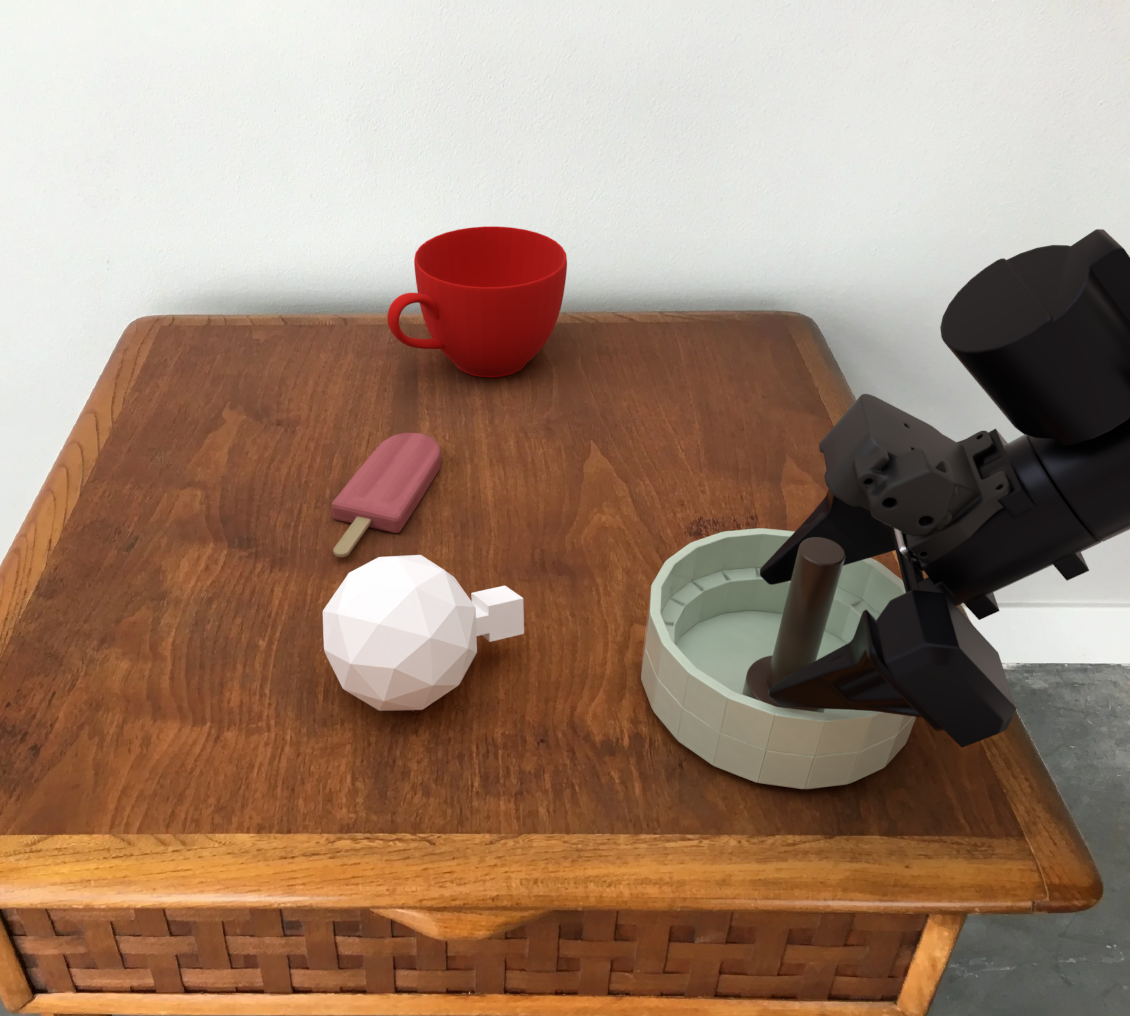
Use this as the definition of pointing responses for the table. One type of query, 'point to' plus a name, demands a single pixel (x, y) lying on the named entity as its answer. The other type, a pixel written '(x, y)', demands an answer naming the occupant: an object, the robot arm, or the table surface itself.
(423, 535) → the table surface
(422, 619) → the perfume bottle
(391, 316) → the ceramic cup
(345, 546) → the popsicle
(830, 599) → the pestle
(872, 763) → the bowl
